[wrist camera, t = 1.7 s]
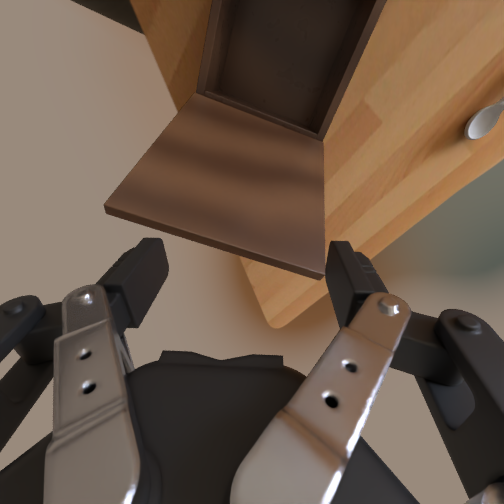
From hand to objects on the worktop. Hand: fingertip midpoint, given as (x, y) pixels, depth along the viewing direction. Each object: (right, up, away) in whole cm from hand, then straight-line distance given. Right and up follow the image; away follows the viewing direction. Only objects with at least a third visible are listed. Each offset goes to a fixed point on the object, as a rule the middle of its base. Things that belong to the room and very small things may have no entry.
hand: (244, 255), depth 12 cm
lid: (0, +7, +8) cm, 10 cm away
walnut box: (+4, +24, +17) cm, 30 cm away
